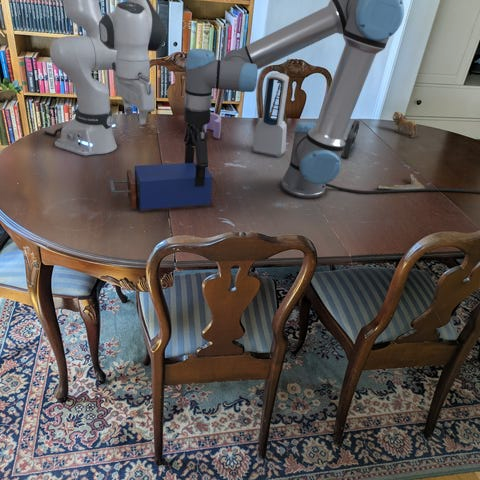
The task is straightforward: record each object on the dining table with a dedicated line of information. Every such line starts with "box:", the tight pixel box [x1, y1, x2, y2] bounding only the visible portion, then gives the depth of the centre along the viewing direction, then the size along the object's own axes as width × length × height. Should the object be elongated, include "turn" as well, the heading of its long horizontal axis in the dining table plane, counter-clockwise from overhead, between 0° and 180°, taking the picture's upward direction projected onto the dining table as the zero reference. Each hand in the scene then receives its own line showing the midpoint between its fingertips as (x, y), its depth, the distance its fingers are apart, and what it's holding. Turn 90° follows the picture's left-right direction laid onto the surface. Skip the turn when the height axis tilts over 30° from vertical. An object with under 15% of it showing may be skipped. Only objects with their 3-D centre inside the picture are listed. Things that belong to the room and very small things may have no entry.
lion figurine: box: [392, 111, 420, 138], centre depth 220 cm, size 15×5×9 cm, turn 50°
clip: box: [203, 112, 222, 140], centre depth 199 cm, size 20×12×7 cm, turn 23°
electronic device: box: [251, 72, 290, 158], centre depth 178 cm, size 12×8×30 cm, turn 71°
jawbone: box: [376, 173, 426, 190], centre depth 169 cm, size 9×20×2 cm, turn 126°
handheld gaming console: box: [342, 119, 361, 159], centre depth 194 cm, size 23×3×10 cm, turn 161°
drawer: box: [108, 169, 140, 210], centre depth 141 cm, size 26×10×8 cm, turn 109°
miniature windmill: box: [269, 58, 290, 124], centre depth 205 cm, size 9×8×30 cm
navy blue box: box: [134, 162, 213, 213], centre depth 143 cm, size 22×11×10 cm, turn 109°
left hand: (135, 118), depth 135 cm, fingers open, 8 cm apart
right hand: (194, 176), depth 144 cm, fingers open, 13 cm apart
